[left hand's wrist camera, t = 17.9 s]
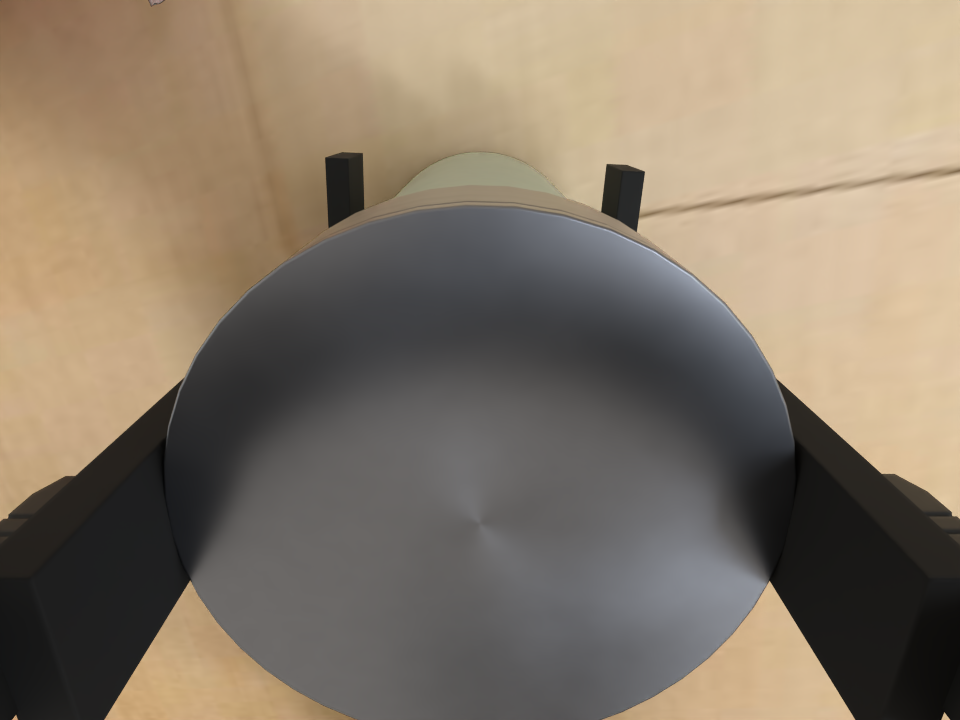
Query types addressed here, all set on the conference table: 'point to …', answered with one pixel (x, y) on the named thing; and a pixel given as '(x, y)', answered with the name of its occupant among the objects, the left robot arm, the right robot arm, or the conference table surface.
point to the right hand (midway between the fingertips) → (485, 161)
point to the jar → (479, 174)
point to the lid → (479, 464)
